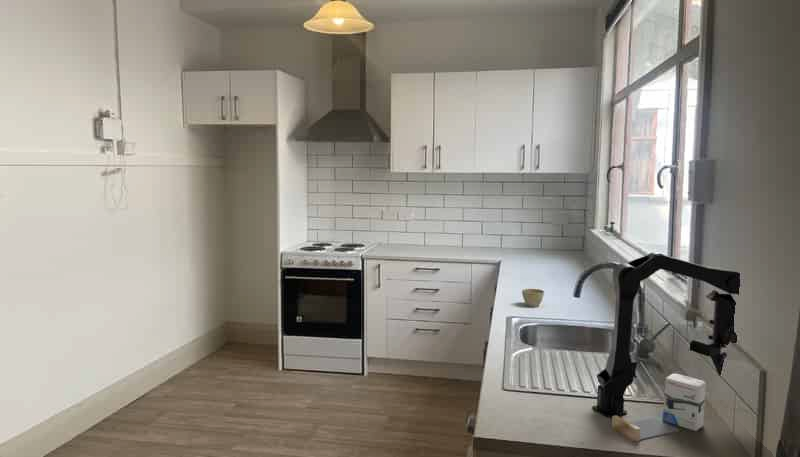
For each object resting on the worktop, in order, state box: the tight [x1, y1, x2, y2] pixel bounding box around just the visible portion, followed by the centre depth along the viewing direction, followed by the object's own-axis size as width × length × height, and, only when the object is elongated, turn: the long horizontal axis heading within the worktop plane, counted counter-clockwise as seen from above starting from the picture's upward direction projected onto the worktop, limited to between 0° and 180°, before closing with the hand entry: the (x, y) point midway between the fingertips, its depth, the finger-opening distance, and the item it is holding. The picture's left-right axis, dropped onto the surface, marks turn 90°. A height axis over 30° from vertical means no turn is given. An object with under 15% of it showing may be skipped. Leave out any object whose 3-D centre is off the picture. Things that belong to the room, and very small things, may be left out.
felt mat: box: [629, 417, 680, 441], centre depth 149 cm, size 8×13×1 cm, turn 114°
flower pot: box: [521, 288, 545, 308], centre depth 276 cm, size 10×10×7 cm
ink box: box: [662, 373, 707, 432], centre depth 152 cm, size 8×5×12 cm, turn 45°
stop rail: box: [611, 415, 641, 442], centre depth 146 cm, size 8×1×3 cm, turn 23°
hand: (721, 376), depth 155 cm, fingers closed
